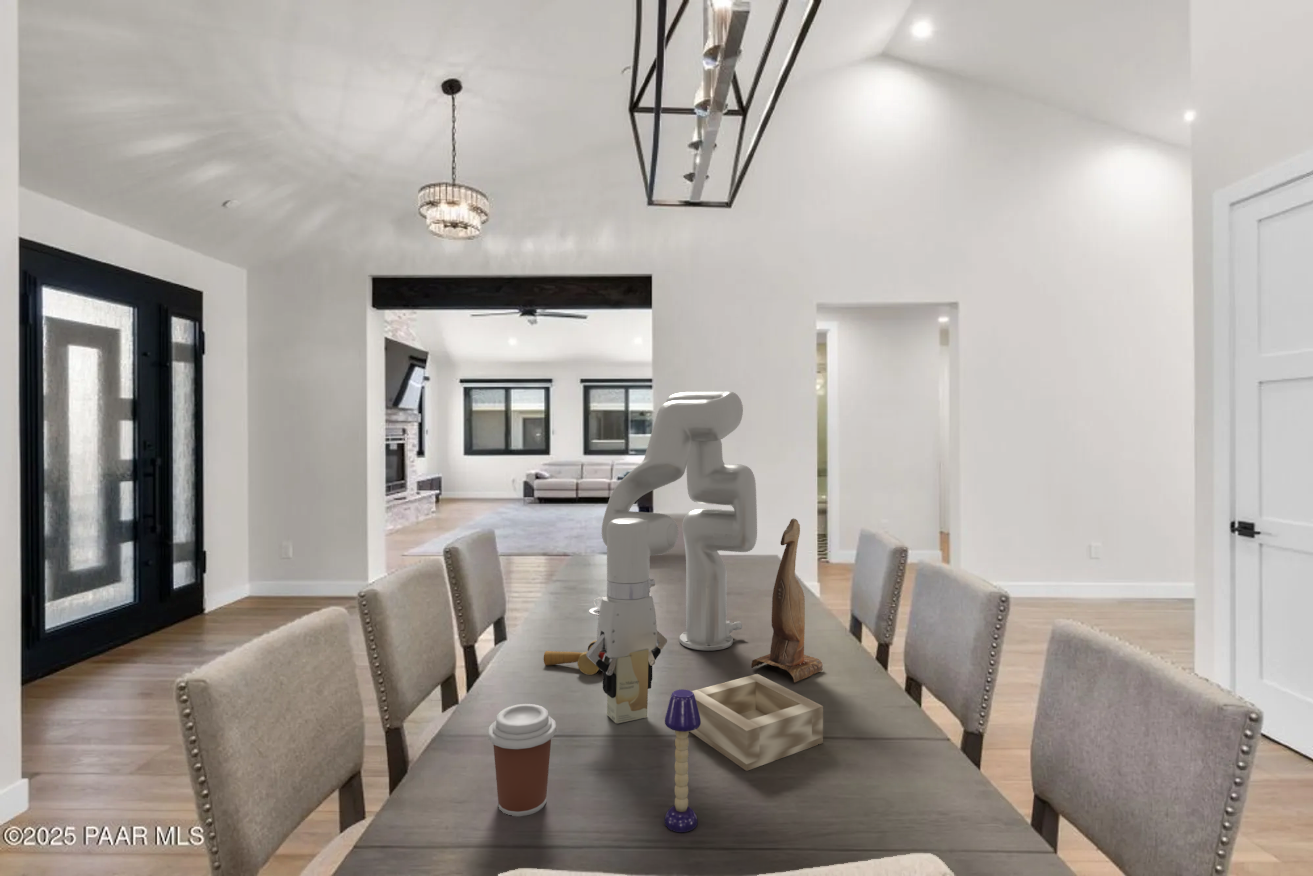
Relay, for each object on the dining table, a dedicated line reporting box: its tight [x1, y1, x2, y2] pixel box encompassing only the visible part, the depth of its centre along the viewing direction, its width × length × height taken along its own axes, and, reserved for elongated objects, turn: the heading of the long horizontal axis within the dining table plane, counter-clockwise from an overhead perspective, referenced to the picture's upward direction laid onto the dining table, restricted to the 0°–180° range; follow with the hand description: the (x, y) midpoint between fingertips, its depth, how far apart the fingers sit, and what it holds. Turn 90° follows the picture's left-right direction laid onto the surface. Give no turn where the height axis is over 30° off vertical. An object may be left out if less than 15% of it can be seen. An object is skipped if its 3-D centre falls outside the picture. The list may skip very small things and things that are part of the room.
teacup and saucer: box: [588, 595, 606, 616], centre depth 178 cm, size 9×8×4 cm
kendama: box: [543, 639, 605, 676], centre depth 136 cm, size 8×6×18 cm
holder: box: [689, 673, 824, 772], centre depth 106 cm, size 16×16×6 cm
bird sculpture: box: [750, 518, 824, 683], centre depth 135 cm, size 11×12×32 cm
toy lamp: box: [664, 688, 701, 833], centre depth 83 cm, size 5×5×17 cm
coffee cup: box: [487, 703, 557, 818], centre depth 87 cm, size 9×9×12 cm
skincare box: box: [606, 649, 649, 724], centre depth 113 cm, size 6×4×12 cm
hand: (627, 689), depth 113 cm, fingers closed on skincare box, 6 cm apart
